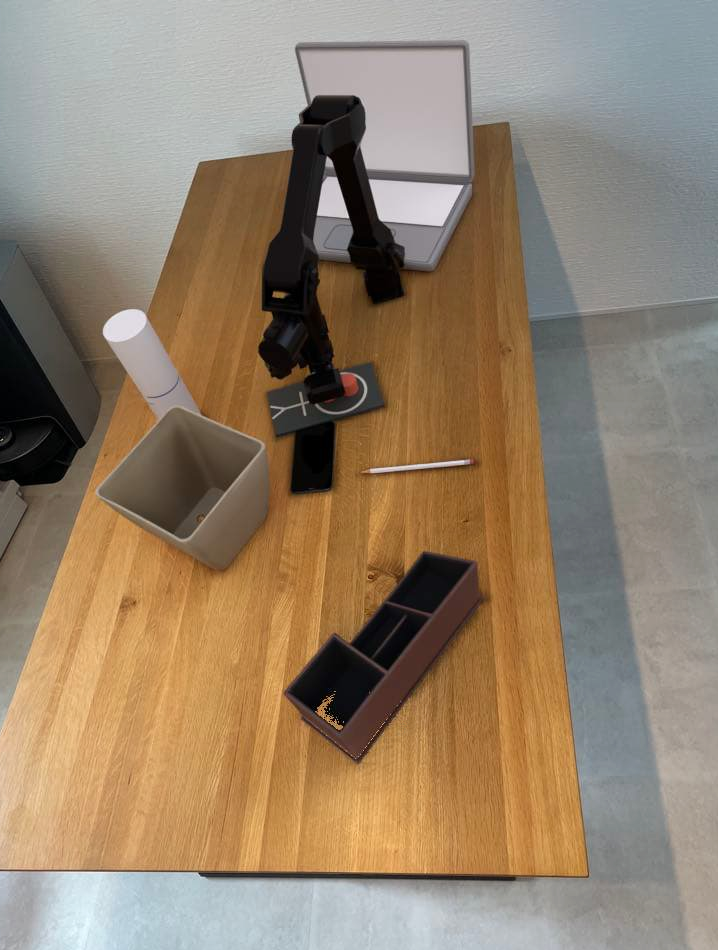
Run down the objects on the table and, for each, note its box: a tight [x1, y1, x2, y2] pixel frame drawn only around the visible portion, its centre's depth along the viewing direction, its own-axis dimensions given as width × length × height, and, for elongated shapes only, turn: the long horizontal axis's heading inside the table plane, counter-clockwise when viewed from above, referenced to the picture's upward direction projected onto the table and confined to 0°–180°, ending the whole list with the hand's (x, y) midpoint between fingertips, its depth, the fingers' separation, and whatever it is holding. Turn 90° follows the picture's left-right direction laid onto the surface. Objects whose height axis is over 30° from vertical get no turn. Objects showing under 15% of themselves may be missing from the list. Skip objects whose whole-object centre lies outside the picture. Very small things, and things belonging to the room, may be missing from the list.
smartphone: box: [290, 421, 337, 495], centre depth 117 cm, size 7×1×15 cm
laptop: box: [294, 39, 476, 273], centre depth 135 cm, size 36×28×29 cm
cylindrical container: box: [102, 308, 202, 421], centre depth 116 cm, size 7×7×25 cm
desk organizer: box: [283, 550, 486, 766], centre depth 91 cm, size 10×29×11 cm, turn 141°
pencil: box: [360, 459, 475, 474], centre depth 111 cm, size 1×19×1 cm, turn 89°
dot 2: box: [341, 373, 358, 396], centre depth 121 cm, size 3×3×2 cm
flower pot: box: [94, 405, 271, 572], centre depth 106 cm, size 19×19×17 cm
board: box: [266, 361, 386, 439], centre depth 123 cm, size 20×11×1 cm, turn 101°
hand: (327, 391), depth 122 cm, fingers closed on dot 1, 3 cm apart
